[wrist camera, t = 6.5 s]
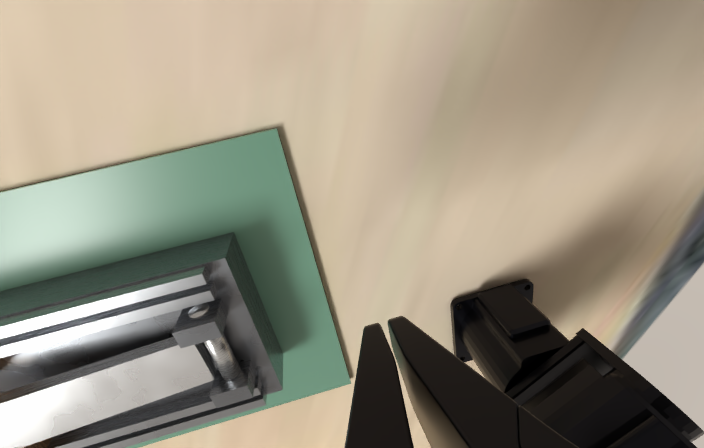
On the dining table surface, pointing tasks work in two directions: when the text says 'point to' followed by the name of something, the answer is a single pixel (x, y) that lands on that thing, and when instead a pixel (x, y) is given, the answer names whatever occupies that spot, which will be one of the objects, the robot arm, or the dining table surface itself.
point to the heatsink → (147, 335)
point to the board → (187, 239)
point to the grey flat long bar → (100, 391)
